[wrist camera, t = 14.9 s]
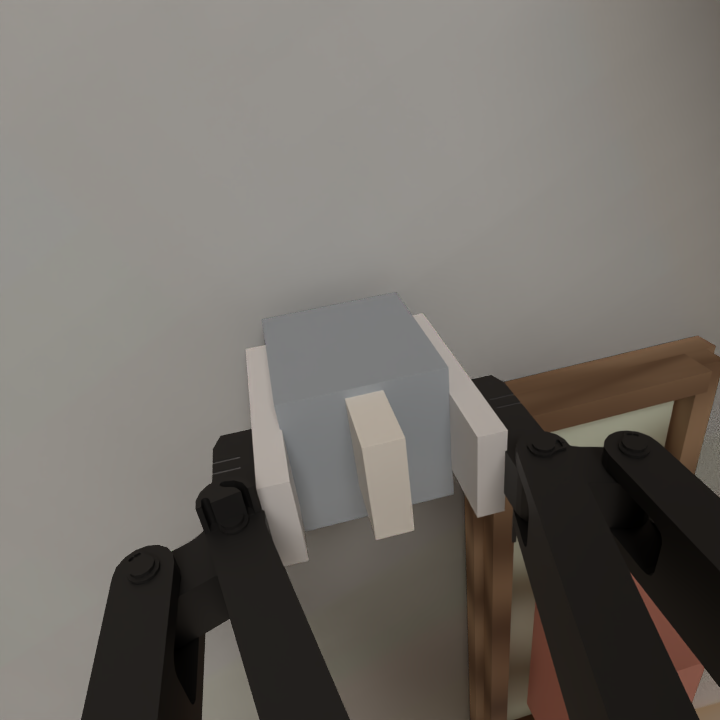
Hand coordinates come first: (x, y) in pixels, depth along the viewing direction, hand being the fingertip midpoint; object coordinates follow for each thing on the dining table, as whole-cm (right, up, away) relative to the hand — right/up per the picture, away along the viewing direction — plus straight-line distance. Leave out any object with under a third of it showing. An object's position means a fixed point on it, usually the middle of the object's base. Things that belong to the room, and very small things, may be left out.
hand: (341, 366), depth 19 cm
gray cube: (0, 0, +1) cm, 1 cm away
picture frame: (+12, -11, +11) cm, 19 cm away
